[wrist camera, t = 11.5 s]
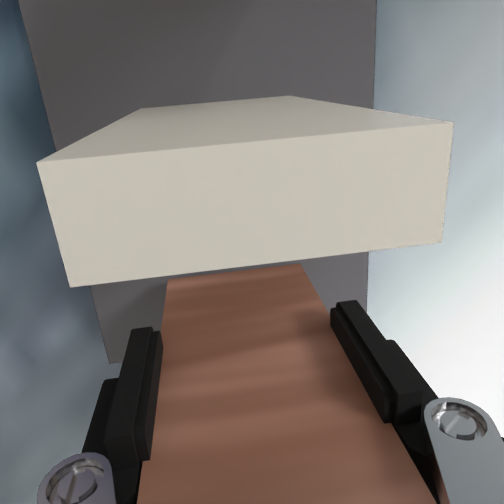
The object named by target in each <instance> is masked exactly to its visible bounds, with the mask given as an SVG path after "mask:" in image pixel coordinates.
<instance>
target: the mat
mask: <svg viewBox="0 0 504 504" xmlns="http://www.w3.org/2000/svg"><path fill="white" fill-rule="evenodd" d="M18 2H19V6H20V10H21V14H22V18H23V22H24V26H25V30H26V34H27V38H28V42H29V46H30V50H31V54H32V58H33V62H34V66H35V70H36V74H37V78H38V82H39V86H40V90H41V94H42V98H43V102H44V106H45V110H46V114H47V118H48V122H49V126H50V130H51V134H52V137H53V141H54V145H55V149H56V152H57V151H59V150H61V149H63V148H65V147H67V146H69V145H71V144H73V143H75V142H77V141H79V140H81V139H82V138H84V137H86V136H88V135H90V134H92V133H94V132H96V131H98V130H100V129H102V128H104V127H106V126H108V125H110V124H112V123H113V122H115V121H117V120H119V119H121V118H123V117H125V116H127V115H129V114H131V113H133V112H135V111H137V110H139V109H141V108H152V107H163V106H175V105H186V104H198V103H209V102H220V101H232V100H243V99H255V98H266V97H278V96H295V97H301V98H307V99H314V100H320V101H326V102H332V103H338V104H344V105H350V106H357V107H363V108H369V109H373V100H374V70H375V39H376V8H377V0H18ZM368 254H369V251H368V252H359V253H351V254H343V255H335V256H326V257H318V258H310V259H302V260H293V261H285V262H277V263H269V264H260V265H252V266H244V267H235V268H227V269H219V270H211V271H202V272H194V273H186V274H178V275H169V276H161V277H153V278H145V279H136V280H128V281H120V282H112V283H103V284H95V285H90V289H91V293H92V297H93V301H94V305H95V309H96V313H97V317H98V321H99V325H100V329H101V333H102V337H103V341H104V345H105V349H106V353H107V357H108V361H109V364H110V363H117V362H123V360H124V356H125V352H126V348H127V344H128V340H129V336H130V333H131V330H132V329H135V328H143V327H150V326H152V328H153V331H159V330H160V332H161V326H162V319H163V312H164V304H165V297H166V290H167V283H168V279H174V278H183V277H191V276H199V275H208V274H216V273H224V272H233V271H241V270H250V269H258V268H266V267H275V266H283V265H291V264H301V266H302V267H303V269H304V271H305V273H306V274H307V276H308V278H309V280H310V281H311V283H312V285H313V287H314V288H315V290H316V292H317V294H318V296H319V297H320V299H321V301H322V303H323V304H324V306H325V308H326V310H327V311H328V313H329V315H330V309H331V308H334V307H336V303H337V302H342V301H350V300H357V301H358V302H359V304H360V305H361V306H362V308H363V309H364V310H365V312H366V313H367V285H368Z"/></svg>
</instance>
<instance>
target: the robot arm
mask: <svg viewBox="0 0 504 504" xmlns="http://www.w3.org/2000/svg"><path fill="white" fill-rule="evenodd" d="M330 326H331V328H332V330H333V332H334V333H335V335H336V337H337V339H338V341H339V343H340V344H341V346H342V348H343V350H344V352H345V354H346V355H347V357H348V359H349V361H350V363H351V364H352V366H353V368H354V370H355V372H356V374H357V375H358V377H359V379H360V381H361V383H362V385H363V386H364V388H365V390H366V392H367V394H368V396H369V397H370V399H371V401H372V403H373V405H374V407H375V408H376V410H377V412H378V414H379V416H380V418H381V419H382V421H383V423H384V424H386V423H391V424H392V426H393V427H394V429H395V431H396V433H397V434H398V436H399V438H400V440H401V441H402V443H403V445H404V447H405V448H406V450H407V452H408V454H409V455H410V457H411V459H412V461H413V463H414V464H415V466H416V468H417V470H418V471H419V473H420V475H421V477H422V478H423V480H424V482H425V484H426V485H427V487H428V489H429V491H430V492H431V494H432V496H433V498H434V499H435V501H436V503H437V504H504V438H503V437H501V436H500V434H499V432H498V430H497V428H496V426H495V424H494V422H493V420H492V419H491V417H490V416H489V415H488V414H487V413H486V412H485V411H484V410H483V409H481V408H480V407H478V406H476V405H475V404H473V403H471V402H468V401H465V400H462V399H458V398H451V397H447V398H438V397H437V395H436V394H435V393H434V391H433V390H432V389H431V388H430V386H429V385H428V384H427V382H426V381H425V380H424V378H423V377H422V376H421V374H420V373H419V372H418V370H417V369H416V368H415V367H414V365H413V364H412V363H411V361H410V360H409V359H408V357H407V356H406V355H405V353H404V352H403V351H402V350H401V348H400V347H399V346H398V344H397V343H396V342H395V341H394V340H386V339H385V338H384V336H383V335H382V334H381V332H380V331H379V330H378V328H377V327H376V325H375V324H374V323H373V321H372V320H371V319H370V317H369V316H368V315H367V313H366V312H365V310H364V309H363V308H362V306H361V305H360V304H359V302H358V301H357V300H350V301H342V302H337V303H336V307H334V308H331V309H330ZM163 348H164V347H163V342H162V337H161V332H160V330H159V331H153V328H152V326H150V327H143V328H135V329H132V330H131V333H130V336H129V340H128V344H127V348H126V352H125V356H124V360H123V364H122V368H121V372H120V375H119V378H113V379H106V380H105V381H104V382H103V384H102V387H101V391H100V394H99V397H98V400H97V404H96V407H95V410H94V414H93V417H92V420H91V423H90V427H89V430H88V433H87V437H86V440H85V443H84V446H83V450H82V453H81V454H77V455H74V456H71V457H69V458H67V459H65V460H63V461H62V462H60V463H59V464H57V465H56V466H55V467H53V468H52V470H51V471H50V472H49V473H48V474H47V475H46V476H45V477H44V479H43V481H42V482H41V484H40V486H39V490H38V494H37V504H137V499H138V492H139V484H140V477H141V470H142V463H143V461H148V460H150V457H151V449H152V441H153V432H154V424H155V415H156V407H157V399H158V390H159V382H160V373H161V365H162V356H163Z"/></svg>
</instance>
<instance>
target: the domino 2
mask: <svg viewBox="0 0 504 504" xmlns="http://www.w3.org/2000/svg"><path fill="white" fill-rule="evenodd" d="M161 337H162V342H163V347H164V348H163V356H162V365H161V373H160V382H159V390H158V399H157V407H156V415H155V424H154V432H153V441H152V449H151V457H150V460H148V461H143V463H142V470H141V477H140V484H139V492H138V499H137V504H437V503H436V501H435V499H434V498H433V496H432V494H431V492H430V491H429V489H428V487H427V485H426V484H425V482H424V480H423V478H422V477H421V475H420V473H419V471H418V470H417V468H416V466H415V464H414V463H413V461H412V459H411V457H410V455H409V454H408V452H407V450H406V448H405V447H404V445H403V443H402V441H401V440H400V438H399V436H398V434H397V433H396V431H395V429H394V427H393V426H392V424H391V423H386V424H384V423H383V421H382V419H381V418H380V416H379V414H378V412H377V410H376V408H375V407H374V405H373V403H372V401H371V399H370V397H369V396H368V394H367V392H366V390H365V388H364V386H363V385H362V383H361V381H360V379H359V377H358V375H357V374H356V372H355V370H354V368H353V366H352V364H351V363H350V361H349V359H348V357H347V355H346V354H345V352H344V350H343V348H342V346H341V344H340V343H339V341H338V339H337V337H336V335H335V333H334V332H333V330H332V328H331V326H330V315H329V313H328V311H327V310H326V308H325V306H324V304H323V303H322V301H321V299H320V297H319V296H318V294H317V292H316V290H315V288H314V287H313V285H312V283H311V281H310V280H309V278H308V276H307V274H306V273H305V271H304V269H303V267H302V266H301V264H291V265H283V266H275V267H266V268H258V269H250V270H241V271H233V272H224V273H216V274H208V275H199V276H191V277H183V278H174V279H168V283H167V290H166V297H165V304H164V312H163V319H162V326H161Z"/></svg>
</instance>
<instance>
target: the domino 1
mask: <svg viewBox="0 0 504 504" xmlns="http://www.w3.org/2000/svg"><path fill="white" fill-rule="evenodd" d="M453 127H454V122H449V121H443V120H437V119H431V118H424V117H418V116H412V115H406V114H400V113H394V112H387V111H381V110H375V109H369V108H363V107H357V106H350V105H344V104H338V103H332V102H326V101H320V100H314V99H307V98H301V97H295V96H278V97H266V98H255V99H243V100H232V101H220V102H209V103H198V104H186V105H175V106H163V107H152V108H141V109H139V110H137V111H135V112H133V113H131V114H129V115H127V116H125V117H123V118H121V119H119V120H117V121H115V122H113V123H112V124H110V125H108V126H106V127H104V128H102V129H100V130H98V131H96V132H94V133H92V134H90V135H88V136H86V137H84V138H82V139H81V140H79V141H77V142H75V143H73V144H71V145H69V146H67V147H65V148H63V149H61V150H59V151H57V152H55V153H53V154H51V155H50V156H48V157H46V158H44V159H42V160H40V161H38V162H36V164H37V167H38V171H39V175H40V178H41V182H42V186H43V189H44V193H45V197H46V200H47V204H48V208H49V211H50V215H51V219H52V223H53V226H54V230H55V234H56V237H57V241H58V245H59V248H60V252H61V256H62V259H63V263H64V267H65V270H66V274H67V278H68V281H69V285H70V287H79V286H87V285H95V284H103V283H112V282H120V281H128V280H136V279H145V278H153V277H161V276H169V275H178V274H186V273H194V272H202V271H211V270H219V269H227V268H235V267H244V266H252V265H260V264H269V263H277V262H285V261H293V260H302V259H310V258H318V257H326V256H335V255H343V254H351V253H359V252H368V251H376V250H384V249H392V248H401V247H409V246H417V245H425V244H434V243H442V233H443V224H444V214H445V204H446V195H447V185H448V175H449V166H450V156H451V146H452V137H453Z"/></svg>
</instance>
